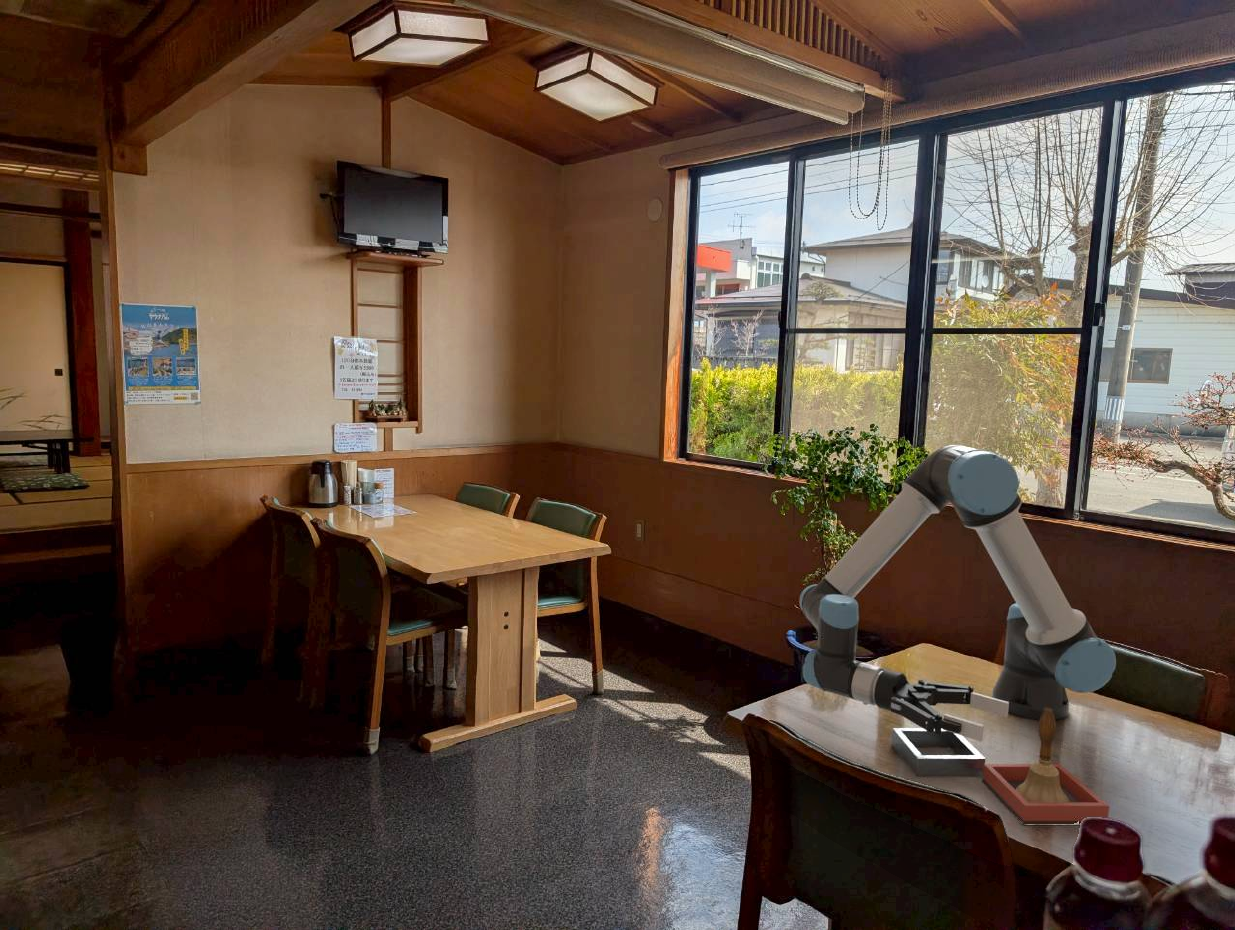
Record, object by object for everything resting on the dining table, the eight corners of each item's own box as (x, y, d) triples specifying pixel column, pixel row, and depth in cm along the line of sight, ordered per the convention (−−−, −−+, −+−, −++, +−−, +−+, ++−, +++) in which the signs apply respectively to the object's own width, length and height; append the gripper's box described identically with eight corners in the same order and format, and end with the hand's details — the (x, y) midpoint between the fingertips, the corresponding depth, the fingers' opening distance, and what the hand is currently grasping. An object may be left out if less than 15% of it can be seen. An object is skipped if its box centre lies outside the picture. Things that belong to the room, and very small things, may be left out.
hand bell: (1024, 808, 138) (1032, 717, 136) (1009, 783, 146) (1016, 697, 144) (1077, 813, 137) (1086, 721, 135) (1059, 788, 145) (1067, 701, 143)
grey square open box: (953, 745, 162) (954, 728, 162) (983, 776, 150) (985, 758, 149) (891, 745, 162) (892, 728, 161) (917, 776, 149) (918, 758, 149)
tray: (1058, 781, 149) (1059, 764, 148) (1107, 825, 135) (1109, 805, 134) (982, 781, 148) (983, 763, 148) (1023, 825, 134) (1025, 805, 134)
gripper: (905, 688, 169) (1015, 719, 155) (850, 725, 151) (968, 765, 137) (908, 653, 168) (1019, 681, 154) (852, 686, 150) (972, 722, 136)
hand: (995, 721), depth 146 cm, fingers open, 13 cm apart
